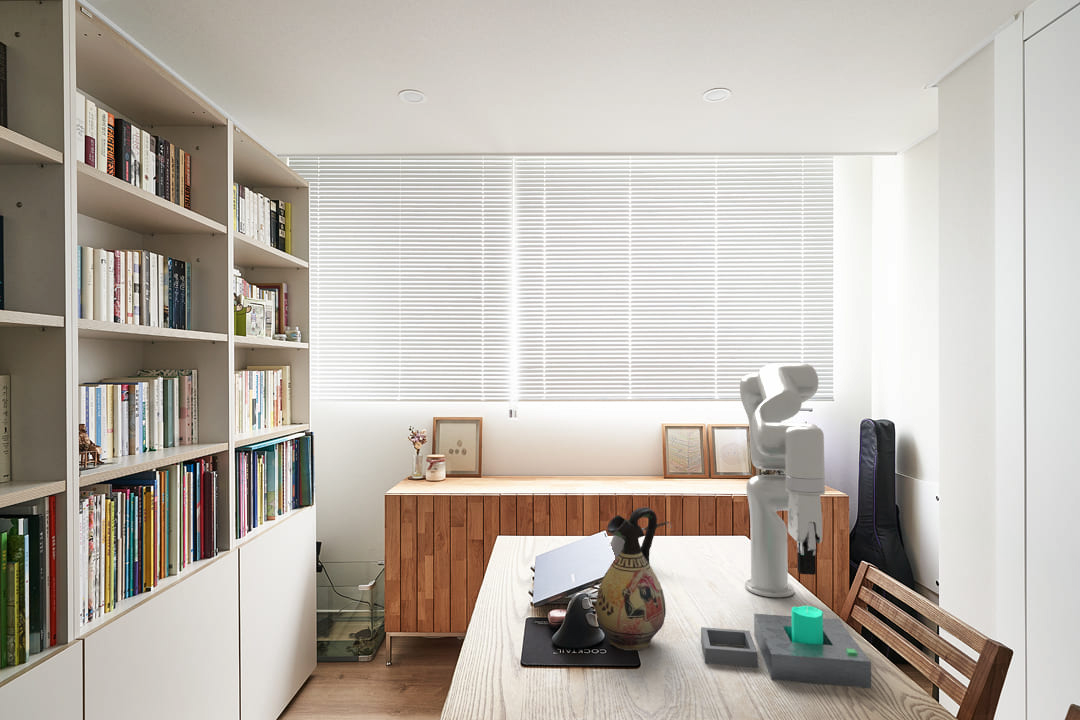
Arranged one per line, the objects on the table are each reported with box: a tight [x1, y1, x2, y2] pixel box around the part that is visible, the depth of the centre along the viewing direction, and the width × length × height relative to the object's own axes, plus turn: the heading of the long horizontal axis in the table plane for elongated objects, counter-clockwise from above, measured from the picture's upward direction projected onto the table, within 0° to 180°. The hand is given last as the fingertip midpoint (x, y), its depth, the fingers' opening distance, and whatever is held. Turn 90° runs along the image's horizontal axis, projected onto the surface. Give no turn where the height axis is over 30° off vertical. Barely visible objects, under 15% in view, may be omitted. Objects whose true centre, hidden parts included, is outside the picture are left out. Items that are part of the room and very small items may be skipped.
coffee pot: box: [609, 518, 672, 559], centre depth 188 cm, size 21×12×15 cm, turn 54°
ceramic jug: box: [595, 507, 667, 651], centre depth 134 cm, size 17×15×30 cm
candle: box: [790, 605, 824, 645], centre depth 124 cm, size 6×6×12 cm
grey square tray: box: [700, 626, 759, 668], centre depth 128 cm, size 10×10×3 cm
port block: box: [753, 613, 872, 689], centre depth 125 cm, size 20×18×6 cm
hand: (806, 573), depth 125 cm, fingers closed
